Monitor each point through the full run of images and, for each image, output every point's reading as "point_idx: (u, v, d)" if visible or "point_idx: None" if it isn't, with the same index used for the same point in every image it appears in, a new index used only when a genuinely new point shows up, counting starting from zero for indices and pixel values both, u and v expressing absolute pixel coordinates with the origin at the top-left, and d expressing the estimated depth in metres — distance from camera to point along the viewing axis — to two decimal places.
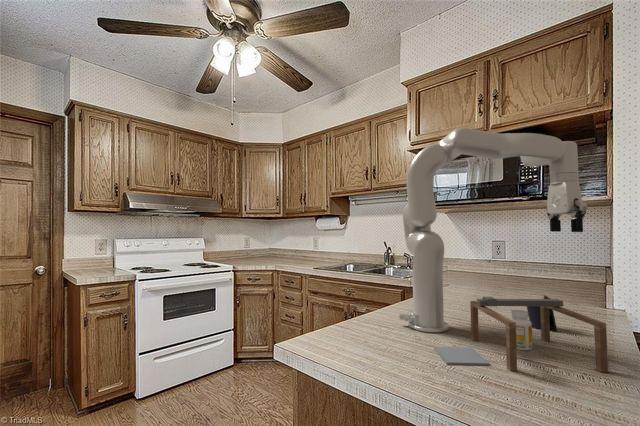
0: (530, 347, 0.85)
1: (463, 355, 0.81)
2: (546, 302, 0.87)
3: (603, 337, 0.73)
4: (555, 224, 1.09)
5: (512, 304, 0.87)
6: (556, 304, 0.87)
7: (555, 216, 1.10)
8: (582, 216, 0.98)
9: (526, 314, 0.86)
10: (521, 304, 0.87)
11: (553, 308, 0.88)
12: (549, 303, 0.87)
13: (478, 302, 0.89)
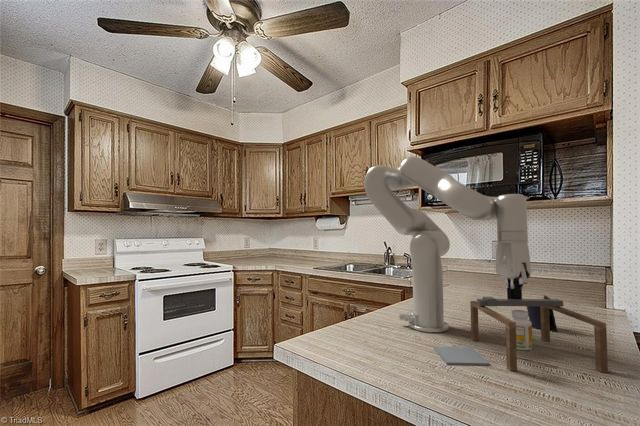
0: (530, 347, 0.85)
1: (463, 355, 0.81)
2: (546, 302, 0.87)
3: (603, 337, 0.73)
4: None
5: (512, 304, 0.87)
6: (556, 304, 0.87)
7: None
8: (520, 286, 0.89)
9: (526, 314, 0.86)
10: (521, 304, 0.87)
11: (553, 308, 0.88)
12: (549, 303, 0.87)
13: (478, 302, 0.89)
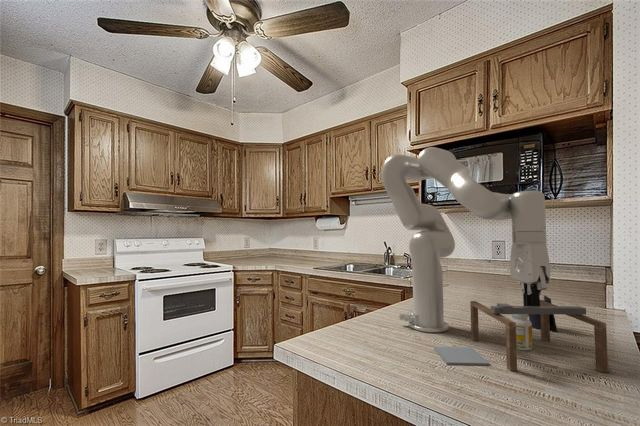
0: (530, 347, 0.85)
1: (463, 355, 0.81)
2: (567, 310, 0.79)
3: (603, 337, 0.73)
4: None
5: (530, 312, 0.79)
6: (578, 312, 0.79)
7: None
8: (538, 292, 0.81)
9: (526, 314, 0.86)
10: (540, 311, 0.79)
11: None
12: (570, 311, 0.79)
13: (492, 309, 0.81)
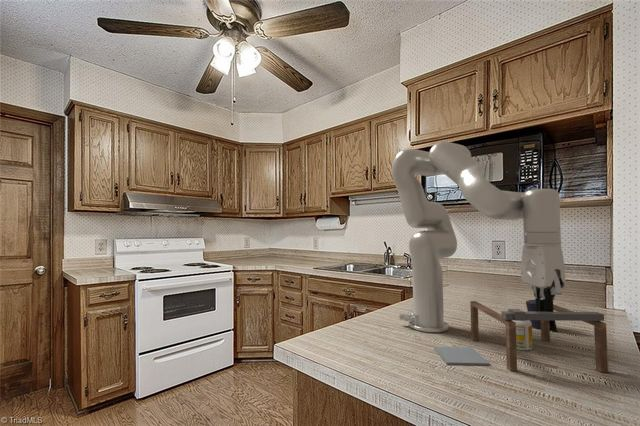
0: (530, 347, 0.85)
1: (463, 355, 0.81)
2: (584, 316, 0.74)
3: (603, 337, 0.73)
4: None
5: (544, 318, 0.74)
6: (596, 318, 0.74)
7: None
8: (552, 297, 0.76)
9: None
10: (554, 317, 0.74)
11: (553, 308, 0.88)
12: (587, 317, 0.74)
13: (503, 315, 0.76)
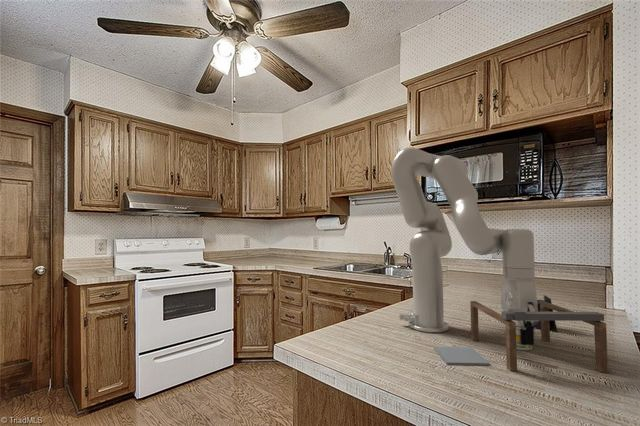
0: (530, 347, 0.85)
1: (463, 355, 0.81)
2: (584, 316, 0.74)
3: (603, 337, 0.73)
4: None
5: (544, 318, 0.74)
6: (596, 318, 0.74)
7: None
8: (532, 328, 0.83)
9: None
10: (554, 317, 0.74)
11: (553, 308, 0.88)
12: (587, 317, 0.74)
13: (503, 315, 0.76)
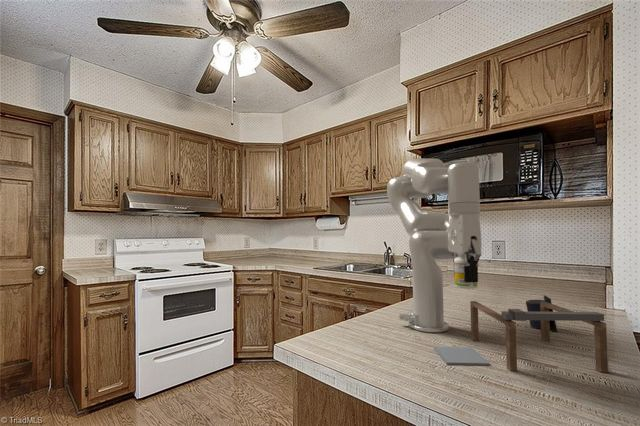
0: (475, 285, 0.81)
1: (463, 355, 0.81)
2: (584, 316, 0.74)
3: (603, 337, 0.73)
4: None
5: (544, 318, 0.74)
6: (596, 318, 0.74)
7: None
8: (476, 263, 0.78)
9: (471, 251, 0.81)
10: (554, 317, 0.74)
11: (553, 308, 0.88)
12: (587, 317, 0.74)
13: (503, 315, 0.76)
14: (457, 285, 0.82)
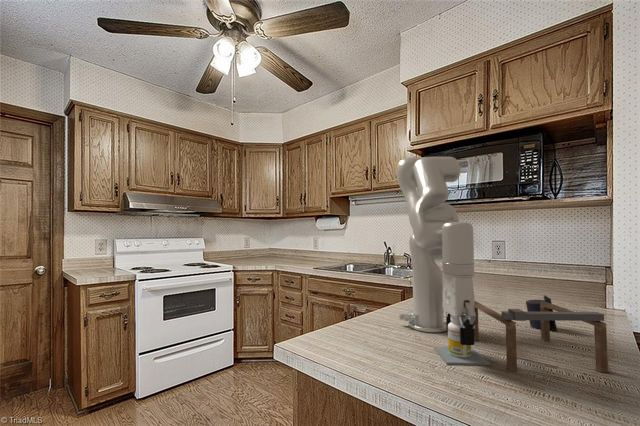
0: (468, 354, 0.79)
1: None
2: (584, 316, 0.74)
3: (603, 337, 0.73)
4: None
5: (544, 318, 0.74)
6: (596, 318, 0.74)
7: None
8: (472, 326, 0.76)
9: (464, 319, 0.80)
10: (554, 317, 0.74)
11: (553, 308, 0.88)
12: (587, 317, 0.74)
13: (503, 315, 0.76)
14: (450, 352, 0.81)
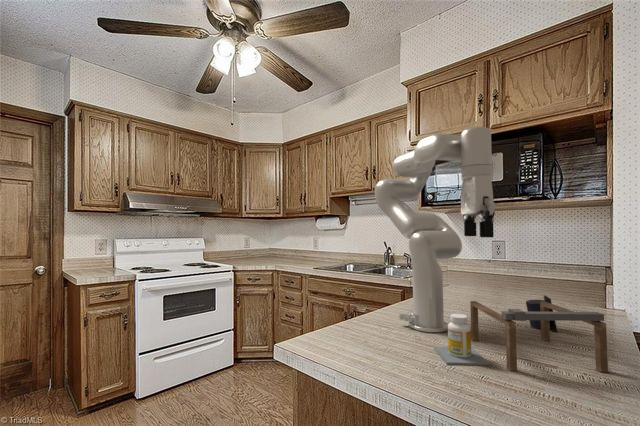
0: (468, 354, 0.79)
1: None
2: (584, 316, 0.74)
3: (603, 337, 0.73)
4: (470, 227, 0.91)
5: (544, 318, 0.74)
6: (596, 318, 0.74)
7: (470, 218, 0.92)
8: (491, 218, 0.80)
9: (464, 319, 0.80)
10: (554, 317, 0.74)
11: (553, 308, 0.88)
12: (587, 317, 0.74)
13: (503, 315, 0.76)
14: (450, 352, 0.81)
